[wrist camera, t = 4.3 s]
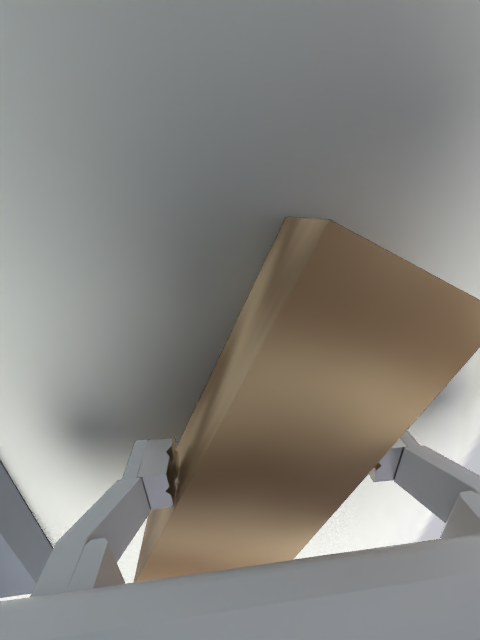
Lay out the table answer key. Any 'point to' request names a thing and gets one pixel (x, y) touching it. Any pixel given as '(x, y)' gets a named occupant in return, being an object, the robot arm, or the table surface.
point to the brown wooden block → (306, 398)
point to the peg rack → (19, 542)
